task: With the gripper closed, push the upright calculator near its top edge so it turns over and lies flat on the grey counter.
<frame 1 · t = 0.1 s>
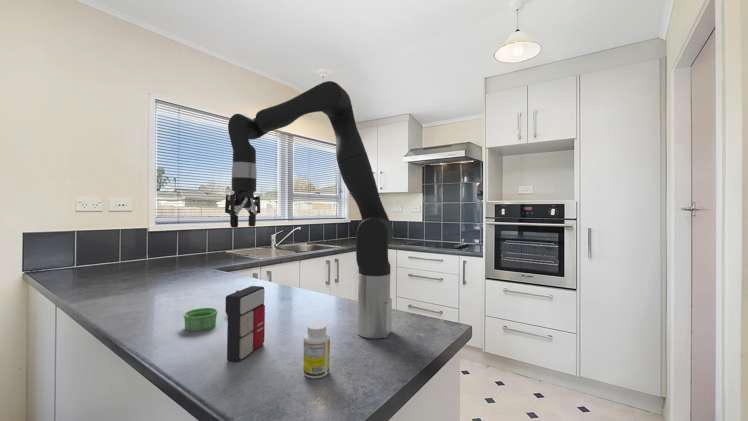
hand: (243, 226, 106), 29 cm above the countertop, tool pointing down, fingers open, 8 cm apart
ramekin: (200, 327, 96), on the countertop
onion: (236, 314, 108), on the countertop
calculator: (246, 352, 80), on the countertop
supplement bottle: (316, 374, 70), on the countertop
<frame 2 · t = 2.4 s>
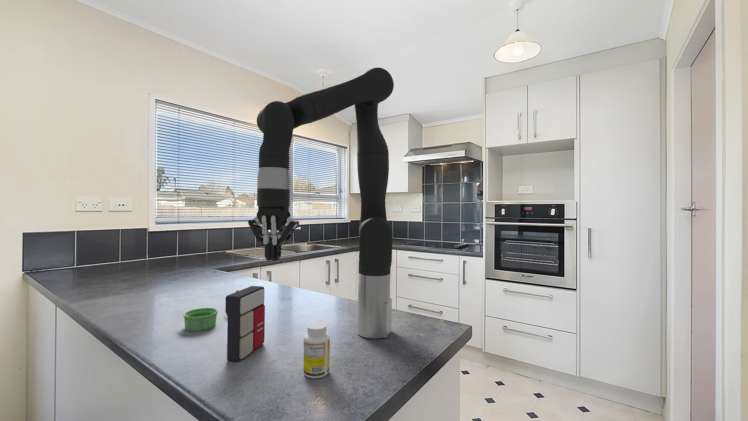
hand: (272, 259, 78), 23 cm above the countertop, tool pointing down, fingers closed
nothing on the countertop moved.
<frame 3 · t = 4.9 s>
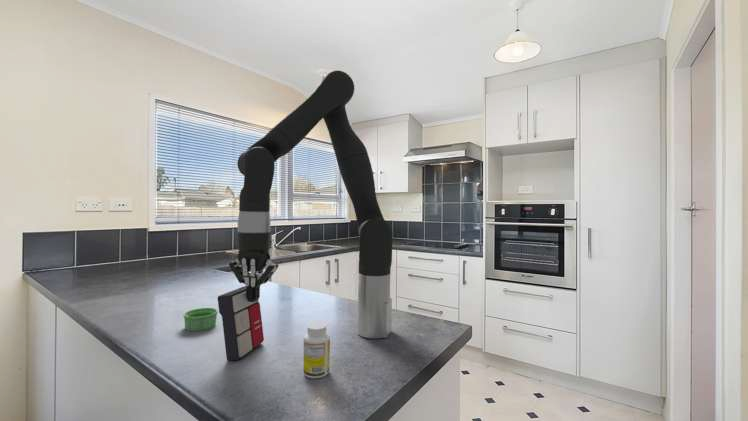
hand: (252, 301, 79), 13 cm above the countertop, tool pointing down, fingers closed
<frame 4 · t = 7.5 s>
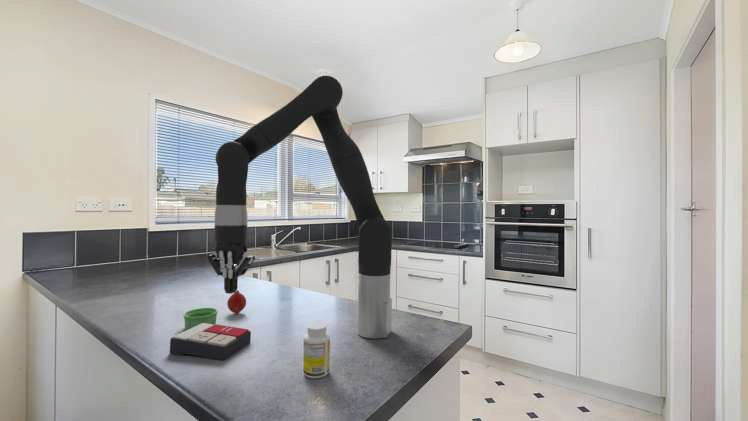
hand: (230, 292, 81), 14 cm above the countertop, tool pointing down, fingers closed
calculator: (239, 344, 80), point 2 cm above the countertop
everything else where it was.
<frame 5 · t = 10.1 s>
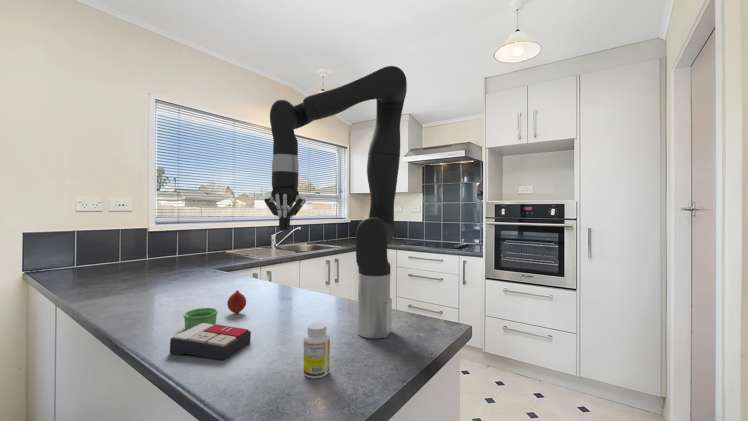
hand: (284, 230, 95), 29 cm above the countertop, tool pointing down, fingers closed
nothing on the countertop moved.
at the end: calculator tilted 87°; calculator inside the target area (4.6 cm from its centre), point 1.5 cm above the countertop; the gripper is holding nothing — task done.
